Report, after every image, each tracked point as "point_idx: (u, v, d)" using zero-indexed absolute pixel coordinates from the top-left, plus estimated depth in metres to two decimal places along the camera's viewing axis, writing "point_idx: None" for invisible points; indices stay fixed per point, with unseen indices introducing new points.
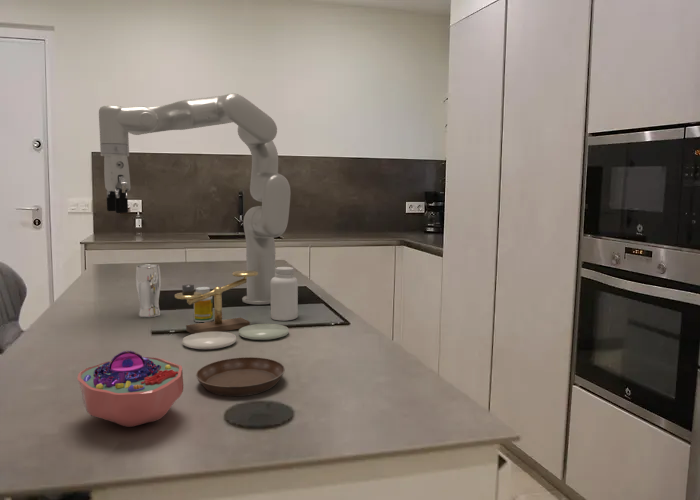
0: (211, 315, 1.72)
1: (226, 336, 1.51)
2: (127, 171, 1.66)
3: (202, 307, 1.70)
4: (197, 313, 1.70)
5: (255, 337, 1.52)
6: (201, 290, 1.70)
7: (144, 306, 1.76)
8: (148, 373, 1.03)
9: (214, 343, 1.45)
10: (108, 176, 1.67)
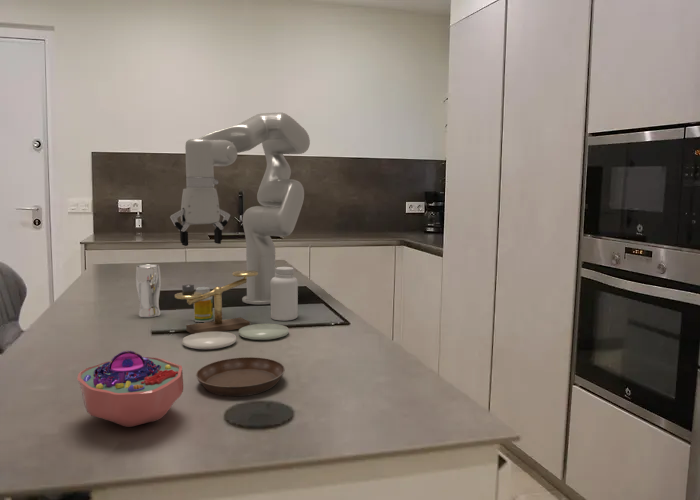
0: (211, 315, 1.72)
1: (226, 336, 1.51)
2: None
3: (202, 307, 1.70)
4: (197, 313, 1.70)
5: (255, 337, 1.52)
6: (201, 290, 1.70)
7: (144, 306, 1.76)
8: (148, 373, 1.03)
9: (214, 343, 1.45)
10: (209, 208, 1.68)
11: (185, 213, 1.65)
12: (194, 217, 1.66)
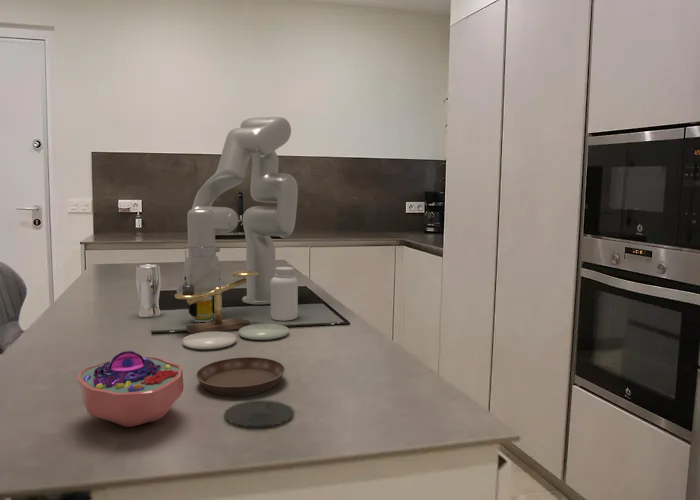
0: (211, 315, 1.72)
1: (226, 336, 1.51)
2: None
3: (202, 307, 1.70)
4: (197, 313, 1.70)
5: (255, 337, 1.52)
6: None
7: (144, 306, 1.76)
8: (148, 373, 1.03)
9: (214, 343, 1.45)
10: (211, 277, 1.71)
11: (187, 282, 1.68)
12: (196, 286, 1.69)
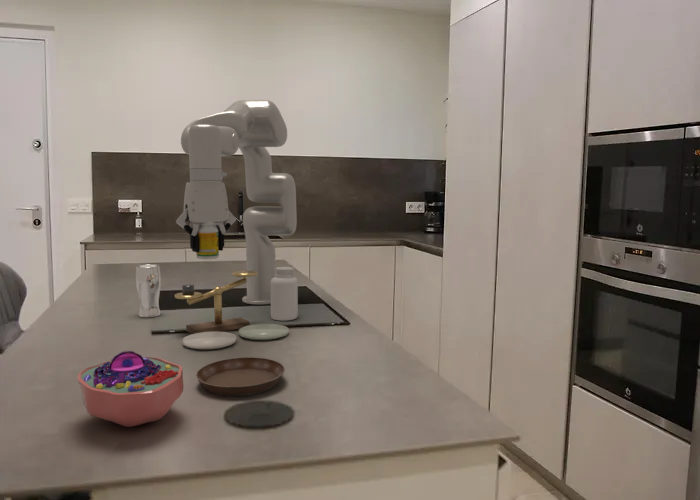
0: (217, 251, 1.47)
1: (226, 336, 1.51)
2: None
3: (206, 241, 1.44)
4: (200, 248, 1.45)
5: (255, 337, 1.52)
6: None
7: (144, 306, 1.76)
8: (148, 373, 1.03)
9: (214, 343, 1.45)
10: (216, 205, 1.45)
11: (189, 211, 1.42)
12: (199, 215, 1.43)
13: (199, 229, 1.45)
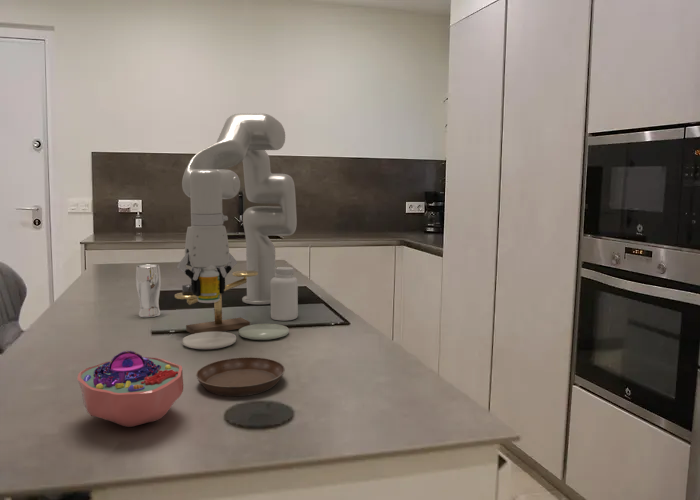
0: (217, 294, 1.47)
1: (226, 336, 1.51)
2: None
3: (207, 285, 1.45)
4: (201, 292, 1.46)
5: (255, 337, 1.52)
6: None
7: (144, 306, 1.76)
8: (148, 373, 1.03)
9: (214, 343, 1.45)
10: (217, 249, 1.46)
11: (190, 256, 1.43)
12: (200, 260, 1.44)
13: (200, 273, 1.46)
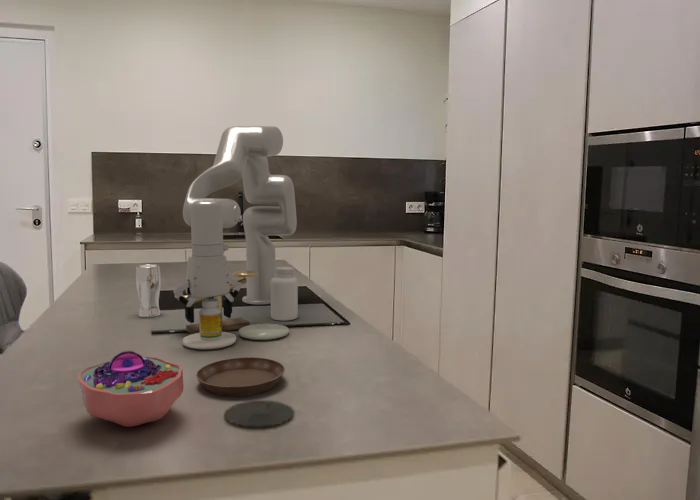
0: (220, 332, 1.49)
1: (226, 336, 1.51)
2: None
3: (209, 323, 1.47)
4: (204, 330, 1.47)
5: (255, 337, 1.52)
6: (208, 303, 1.47)
7: (144, 306, 1.76)
8: (148, 373, 1.03)
9: (214, 343, 1.45)
10: (218, 279, 1.47)
11: (191, 286, 1.44)
12: (201, 290, 1.45)
13: (202, 311, 1.47)
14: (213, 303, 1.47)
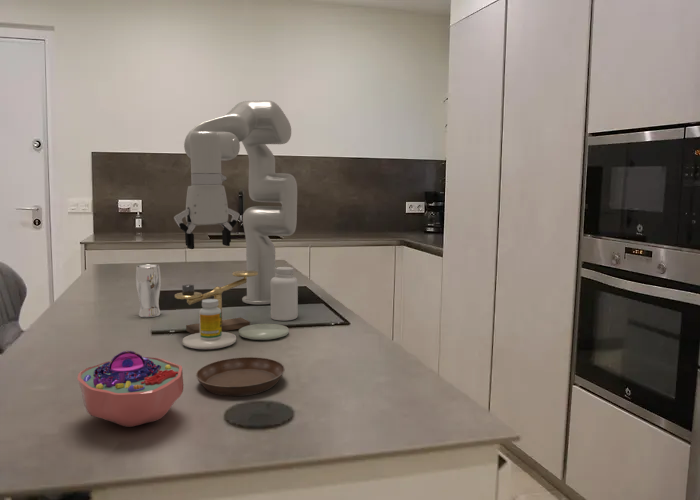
0: (220, 331, 1.49)
1: (226, 336, 1.51)
2: None
3: (209, 323, 1.47)
4: (204, 330, 1.47)
5: (255, 337, 1.52)
6: (208, 303, 1.47)
7: (144, 306, 1.76)
8: (148, 373, 1.03)
9: (214, 343, 1.45)
10: (217, 208, 1.53)
11: (191, 213, 1.50)
12: (200, 217, 1.51)
13: (202, 311, 1.47)
14: (213, 303, 1.47)
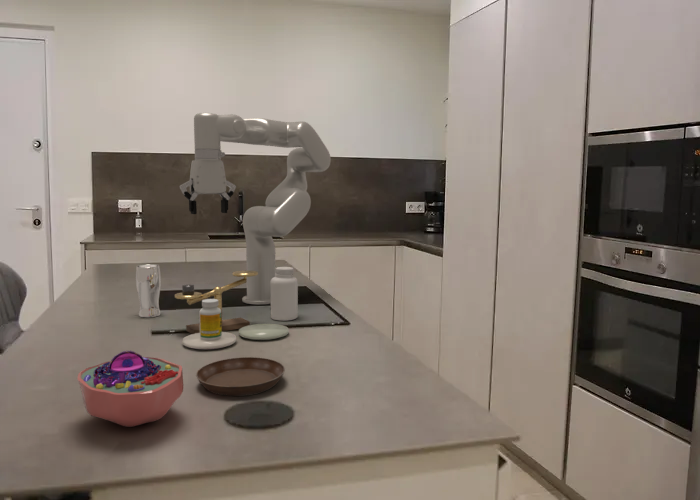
0: (220, 332, 1.49)
1: (226, 336, 1.51)
2: None
3: (209, 323, 1.47)
4: (204, 330, 1.47)
5: (255, 337, 1.52)
6: (208, 303, 1.47)
7: (144, 306, 1.76)
8: (148, 373, 1.03)
9: (214, 343, 1.45)
10: (216, 179, 1.78)
11: (194, 183, 1.75)
12: (202, 187, 1.76)
13: (202, 311, 1.47)
14: (213, 303, 1.47)
